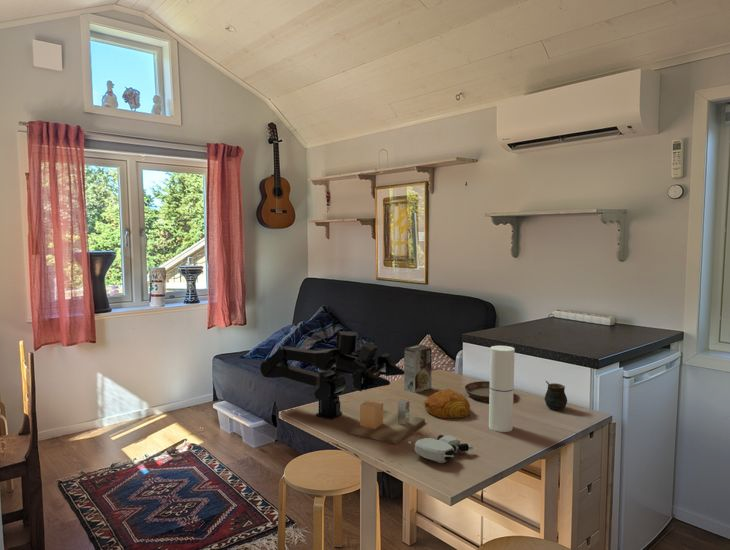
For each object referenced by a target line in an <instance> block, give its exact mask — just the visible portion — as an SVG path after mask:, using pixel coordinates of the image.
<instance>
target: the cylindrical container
mask: <svg viewBox="0 0 730 550" xmlns="http://www.w3.org/2000/svg"><path fill="white" fill-rule="evenodd" d="M489 353H490V356H489V358H490V360H489V382H490V393H489V403H488V404H489V406H488V407H489V409H488V428H489V429H490V430H491V431H495V432H499V433H506V432H507V433H508V432H511V431H512V430H513V427H514V425H513V421H514V420H513V419H514V417H513V416H514V389H515V388H514V387H515V383H514V381H515V353H516V352H515V347H513V346H508V345H492V346H490V351H489Z"/></svg>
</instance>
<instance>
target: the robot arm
mask: <svg viewBox="0 0 730 550" xmlns="http://www.w3.org/2000/svg"><path fill="white" fill-rule="evenodd" d="M358 336H359V335H358V332H356V331H337V332H336V345H335V346H336V347H335V348H329V349H328V348H327V349H326V348H325V349H319V350H312V349H306V348H299V347H292V346H290V345H285V346H283V347H280V348H278V349H277V350H276V351H275V352H274V353H273V354H272V355H271V356H270V357H267V359H266V360H264V361H263V362H262V363H261V364H260V367H259V368H260V369H259V370H260V373H261V374H262V377H263V378H266V379H277V378H278V379H279V378H282V379H283V378H284V379H287V380H291V381H295V382H297V383H300V384H304V385H306V386H307V385H308V386H312V387H314V388H316V390H315V391H314V392H313V393H314V397H315V399H316V400H318V412H317V413H315V416H317V417H319V418H320V417H321V418H325V419H330V420H332V419H335V418H337V417H338V416H340V415H342V414H343V411H341V401H340V395H343V391H344V390H345V388H346V386H347V381H346V379H345V376H344V374H347V375H350V376H351V377H352V379H353V384H352V385H353V388H354V389H355V391H358V392H362V391H367V390H371V389H375V388H380V387H386V386H390V384H391V382H390V380H389V379H386V378H383V377H381V376H386V377H389V376H404V369H402V368H401V367H399V366H397V365H396V364H395V363H394V362H393V360H392V355H391V353H387V352H385V353H383V354H382V355H380V356H379V357H377V364H376V357H375V355H376V352H377V351H378V349H379V348H378V345H377V344H376V342H371V341H370V342H367V343H365V344H363V345H362V346H361V349H360V351H359V354H358V357H356V356H352V355H354V353H356V352H357V347H358ZM289 361H294V362H299V363H300V362H301V363H306V364H311V365H314V367H316V368H318V369H320V370H323V371H322V372H315V371H312V370H308V369H304V368H302V367H297V366H294V365H290V364H289ZM334 367H335V369H334V370H332V368H334ZM377 374H379V375H381V376H378V375H377Z"/></svg>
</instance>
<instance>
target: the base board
mask: <svg viewBox="0 0 730 550" xmlns="http://www.w3.org/2000/svg"><path fill="white" fill-rule="evenodd" d="M425 422H426V418H424V417H419V416H414V415H409V423H408V424H407V425H401V424H398V412H395V411H394V412H393V411H389V410H384V409H383V424H381V425H380V426H378V427H377V428H375V429H373V428H369V427H364V426H360V422H359V423H357V424H355V425H353V426H352V427H349V429H348V434H350V435H355V436H359V437H364V438H368V439H372V440H376V441H379V442H384V443H387V444H388V443H389V444H392V445H397V444H399V443H400V442H401V441H402V440H404V439H405V438H406V437H407V436H409V435H410V434H412V433H413V432H414V431H416V430H417V429H418V428H420V427H421V426H422V425H424V424H425Z"/></svg>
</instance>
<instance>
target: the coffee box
mask: <svg viewBox="0 0 730 550" xmlns="http://www.w3.org/2000/svg"><path fill="white" fill-rule="evenodd" d="M403 356H404V357H403V358H404V359H403V365H404V366H403V370H404V375H403V389H404V390H406V391H408V392H412V393H415V394H416V393H420V392H423V391H425V390H429V389H432V346H427V345H423V344H416V345H413V346H409V347H404V348H403Z"/></svg>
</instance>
